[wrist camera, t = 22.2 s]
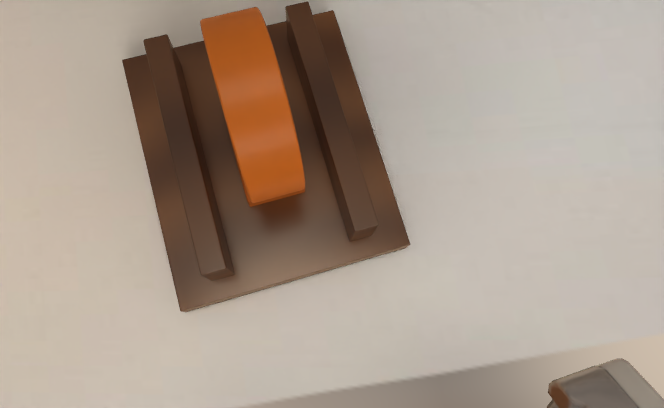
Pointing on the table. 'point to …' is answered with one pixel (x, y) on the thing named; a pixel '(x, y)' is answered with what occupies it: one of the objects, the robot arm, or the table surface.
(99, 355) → the table surface
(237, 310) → the table surface
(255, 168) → the disc
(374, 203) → the rack
